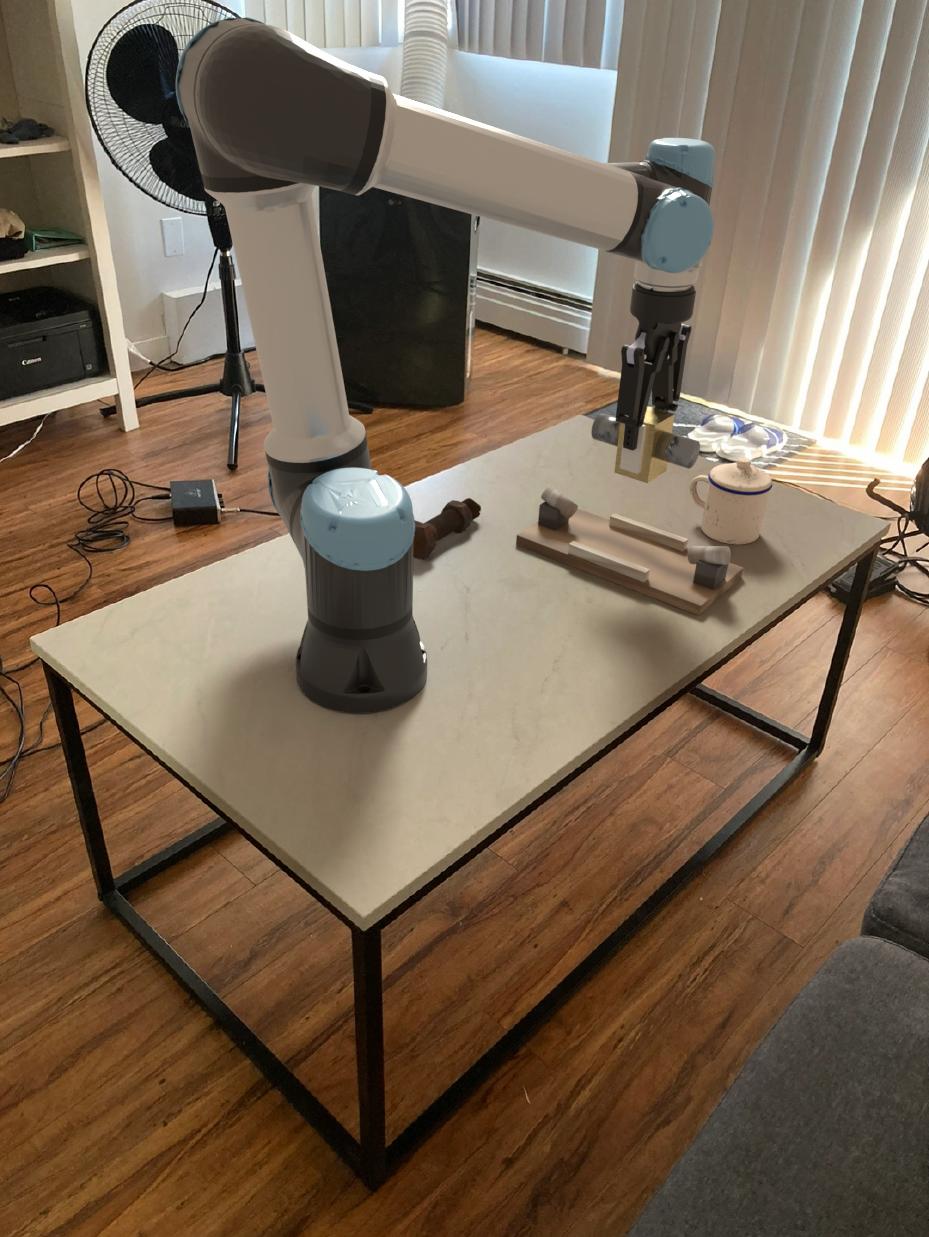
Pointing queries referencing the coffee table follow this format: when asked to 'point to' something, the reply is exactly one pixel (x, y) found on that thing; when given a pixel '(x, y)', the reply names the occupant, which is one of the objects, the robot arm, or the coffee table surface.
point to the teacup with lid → (733, 501)
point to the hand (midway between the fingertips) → (641, 462)
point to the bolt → (444, 525)
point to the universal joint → (649, 444)
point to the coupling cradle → (631, 554)
